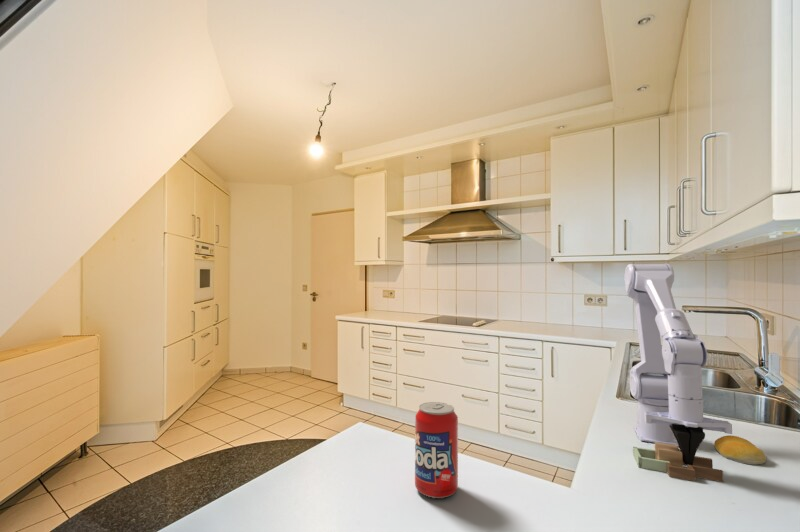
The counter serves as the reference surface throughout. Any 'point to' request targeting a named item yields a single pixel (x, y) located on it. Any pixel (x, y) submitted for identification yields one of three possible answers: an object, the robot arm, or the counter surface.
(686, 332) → the robot arm
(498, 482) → the counter surface
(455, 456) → the soda can
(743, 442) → the bread roll
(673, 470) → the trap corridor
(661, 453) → the oak block
